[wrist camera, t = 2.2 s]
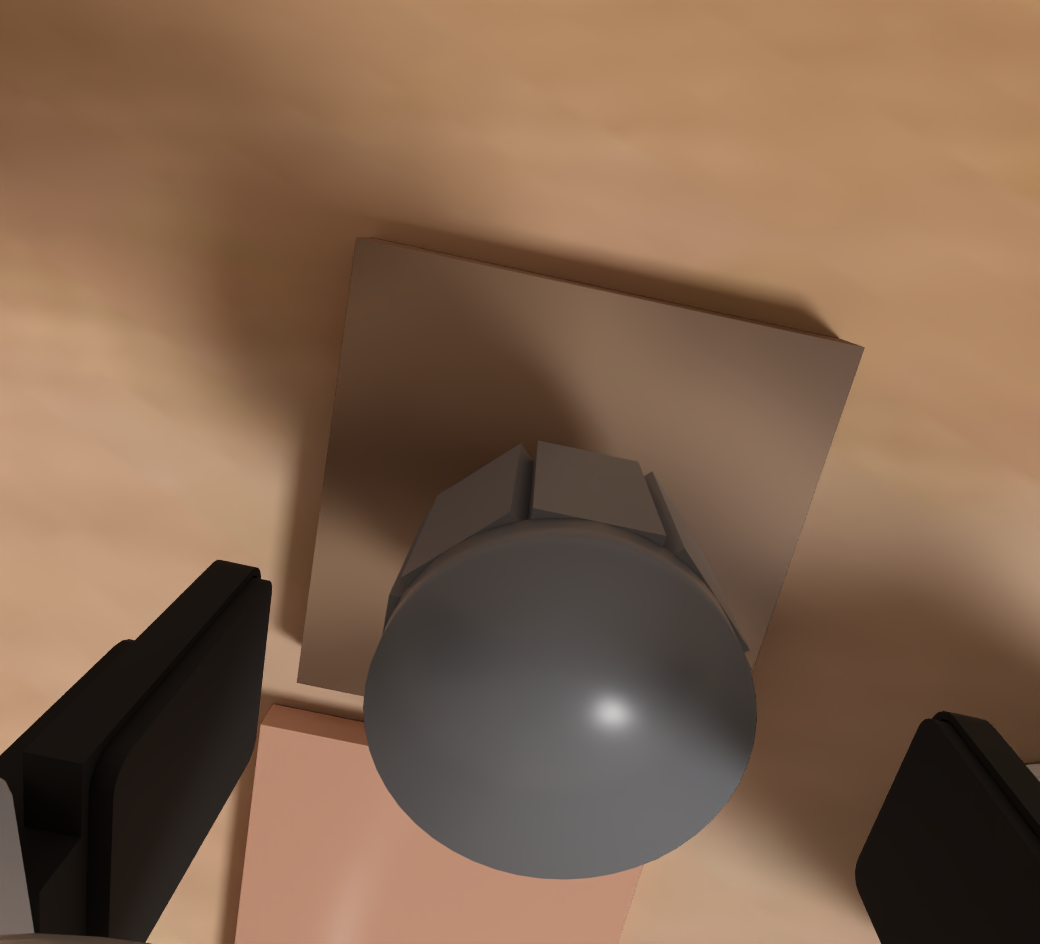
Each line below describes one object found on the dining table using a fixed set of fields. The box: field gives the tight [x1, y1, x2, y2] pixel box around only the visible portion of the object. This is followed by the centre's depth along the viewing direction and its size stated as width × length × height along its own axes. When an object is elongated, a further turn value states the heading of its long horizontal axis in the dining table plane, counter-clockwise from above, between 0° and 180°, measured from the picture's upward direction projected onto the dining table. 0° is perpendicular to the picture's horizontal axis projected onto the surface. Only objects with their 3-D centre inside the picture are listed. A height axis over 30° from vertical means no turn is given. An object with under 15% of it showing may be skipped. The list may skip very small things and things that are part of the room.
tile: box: [235, 704, 644, 944], centre depth 24 cm, size 12×12×1 cm
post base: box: [297, 238, 864, 696], centre depth 17 cm, size 12×12×8 cm
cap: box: [363, 441, 757, 880], centre depth 14 cm, size 6×6×5 cm
